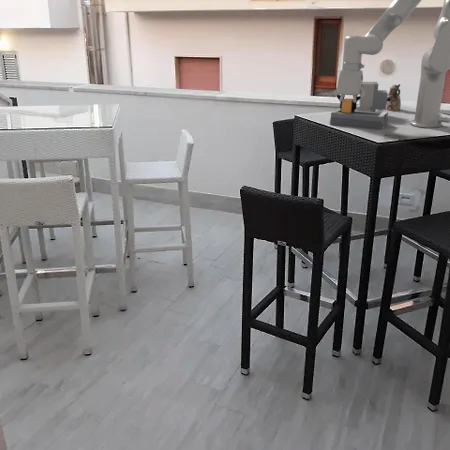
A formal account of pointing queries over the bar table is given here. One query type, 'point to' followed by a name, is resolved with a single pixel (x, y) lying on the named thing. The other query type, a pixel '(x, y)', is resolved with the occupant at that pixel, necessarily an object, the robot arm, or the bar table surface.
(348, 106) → the toggle
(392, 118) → the bar table surface
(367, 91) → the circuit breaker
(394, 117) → the bar table surface
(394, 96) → the figurine
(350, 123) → the switch panel
